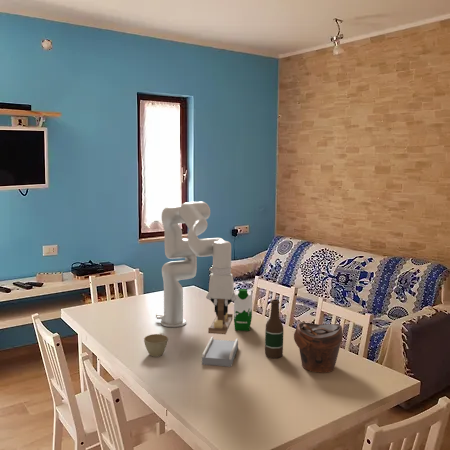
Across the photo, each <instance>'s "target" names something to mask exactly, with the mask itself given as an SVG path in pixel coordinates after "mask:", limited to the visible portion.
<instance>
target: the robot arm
mask: <svg viewBox="0 0 450 450" xmlns="http://www.w3.org/2000/svg"><path fill="white" fill-rule="evenodd" d="M210 216H211V208H210V206H209V204H208V203H206V202H205V201H189V202H187V201H186V202H183V203H181V205H171V206H166V207H165V208H163V210H162V212H161V223H162V227H163V231H164V232H163V233H164V254H165V257H166V258H167V259H168V260H169V259H170V260H173V261H168V262H165V263H164V264H163V265H162V267H161V276H162V280H163V313H162V314H161V313H156V314H155V318H156V320H160V325H161V326H163V327H167V328H180V327H184V326H185V325H186V324H187V320H186V319H185V318H184V288H183V286H182V285H181V284H180V282H179V281H181V280H189V279H190V280H191V279H193V278H194V277H196V275H197V271H198V270H197V268H198V266H197V265H198V264H197V263H198V262H197V261H198V259H197V257H200V258H203V257H212V267H209V268H208V270H209V272H211V273H210V277H209V282H208V283H209V284H208V291H207V292H208V293H207V295H206V297H205V298H206V299H207V300H209V301H210V302H212V304H213V305H214V313H215V315H216V316H217V315H218V299H225V304H224V315H226V313H228V312H229V305H230V304H231V303H232V302H233V303H234V301H235V300H236V299H237V297H236V295H235V287H234V286H235V285H234V282H235V281H234V275H233V273H232V243H231V242H230V241H228V240H224V239H223V238H222V237H210V238H209V237H207V238H199V237H198V236H200V235H201V234H204V233H205V231H206V230H207V228H208V221H207V220H209V218H210ZM179 224H185V225H186V226H187V228H188V232H187V238H183V231H182V227H181V226H180V225H179ZM174 259H175V260H174ZM176 259H177V260H176ZM178 259H184V260H178ZM228 314H229V313H228Z"/></svg>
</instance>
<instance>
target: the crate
mask: <svg viewBox="0 0 450 450" xmlns="http://www.w3.org/2000/svg"><path fill="white" fill-rule="evenodd" d="M213 321H214V320H213ZM222 327H223V320H215V321H214V328H222Z"/></svg>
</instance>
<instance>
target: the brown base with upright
mask: <svg viewBox="0 0 450 450" xmlns="http://www.w3.org/2000/svg"><path fill="white" fill-rule="evenodd" d="M224 304H225V299H218V315H216V316H215V317H214V320H213V321H212V323H211V325H210V326H209V327H208V329H207V331H208V332H207V333H208V334H213V335H215V334H216V335H227V333H228V330H229V328H230V325H231V323H232V321H233V320H234V313H228V316H227V319H225V315H224ZM215 320H223V327H222V328H214V321H215Z"/></svg>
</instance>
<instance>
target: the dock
mask: <svg viewBox="0 0 450 450" xmlns="http://www.w3.org/2000/svg"><path fill="white" fill-rule="evenodd" d="M238 349H239V339H238V338H235V340H228V339H226V340H225V339H215V338H214V336H211V337H210V339H208V342H207V344H206V347H205V348H204V350H203V352H202V353H201V365H205V366H218V367H219V366H220V367H229V368H230V367H232V366H233V363H234V360H235V357H236V354H237V352H238Z"/></svg>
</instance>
